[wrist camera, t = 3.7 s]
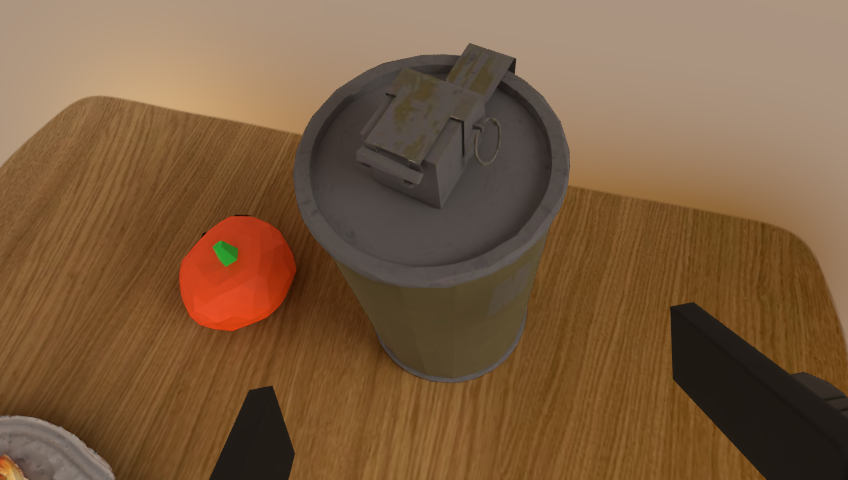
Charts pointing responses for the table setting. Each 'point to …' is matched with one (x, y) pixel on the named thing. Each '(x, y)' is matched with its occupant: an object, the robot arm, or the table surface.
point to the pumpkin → (236, 273)
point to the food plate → (46, 453)
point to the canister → (436, 203)
